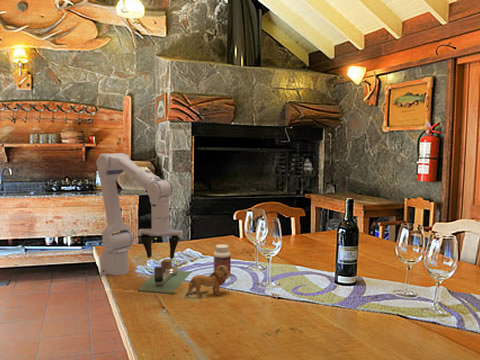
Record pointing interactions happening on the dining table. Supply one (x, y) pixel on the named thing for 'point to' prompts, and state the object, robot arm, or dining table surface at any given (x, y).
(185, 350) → the dining table surface
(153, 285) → the green flat rectangular slab
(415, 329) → the dining table surface
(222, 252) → the pill bottle
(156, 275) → the lever
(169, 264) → the walnut block
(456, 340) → the dining table surface
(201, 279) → the lion figurine
